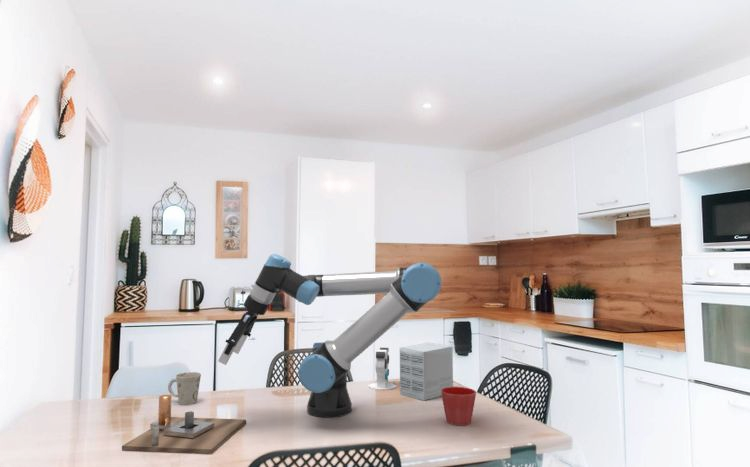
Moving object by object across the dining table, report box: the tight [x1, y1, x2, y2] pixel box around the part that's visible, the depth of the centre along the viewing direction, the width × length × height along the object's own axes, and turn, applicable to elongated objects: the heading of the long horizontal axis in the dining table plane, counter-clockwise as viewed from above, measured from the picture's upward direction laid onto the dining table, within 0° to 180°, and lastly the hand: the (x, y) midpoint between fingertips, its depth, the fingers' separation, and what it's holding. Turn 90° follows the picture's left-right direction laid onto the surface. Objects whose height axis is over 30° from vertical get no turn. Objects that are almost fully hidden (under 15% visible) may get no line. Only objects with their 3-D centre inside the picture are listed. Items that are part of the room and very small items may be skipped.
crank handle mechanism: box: [149, 394, 214, 438], centre depth 142 cm, size 18×10×9 cm, turn 74°
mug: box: [167, 371, 202, 406], centre depth 176 cm, size 8×13×10 cm, turn 78°
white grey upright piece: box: [368, 347, 397, 391], centre depth 199 cm, size 12×11×15 cm
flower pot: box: [441, 386, 477, 426], centre depth 154 cm, size 11×11×10 cm
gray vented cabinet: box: [399, 342, 454, 402], centre depth 188 cm, size 17×13×18 cm
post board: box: [121, 410, 247, 455], centre depth 141 cm, size 25×25×7 cm
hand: (228, 357), depth 157 cm, fingers open, 13 cm apart
